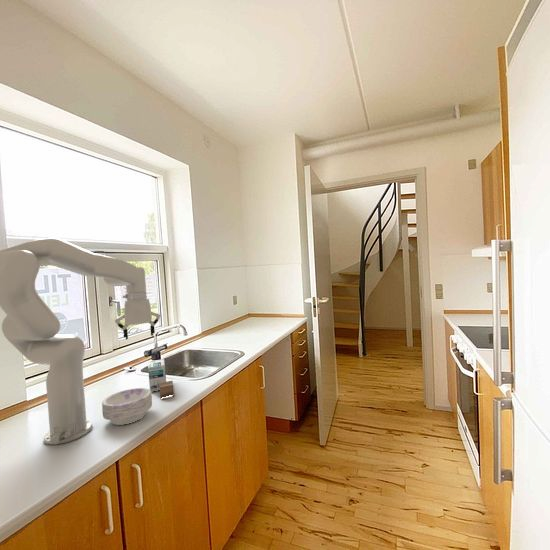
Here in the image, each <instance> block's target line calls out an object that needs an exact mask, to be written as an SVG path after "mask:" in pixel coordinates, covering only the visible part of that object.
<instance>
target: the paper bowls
mask: <svg viewBox="0 0 550 550" xmlns="http://www.w3.org/2000/svg"><path fill="white" fill-rule="evenodd" d="M152 398H153V397H152V393H151V391H150V388H145V387H138V388H129V389H124V390H121V391H119V392H115V393H112V394H110V395H107V396H106V397H105V398H104V399H103V400H102V403H101V409H102V410H101V412H102V417H103V419H104V420H108V421H110V422H111V423H112V424H113V425H115V426H125V425H124V424H127V425H129V423H131V424H133V423H132V422H134V423H135V421H136V422H138V421H140V420H141V419H142V418H144V417H145V415H146V413H147V412H148V411H149V410H151V408H152V407H153V399H152ZM139 419H140V420H139ZM137 420H138V421H137Z"/></svg>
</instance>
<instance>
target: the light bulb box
mask: <svg viewBox="0 0 550 550" xmlns="http://www.w3.org/2000/svg"><path fill="white" fill-rule="evenodd" d="M165 362H166V361H165V358H162V359H157V360H149V362H148V366H147V369H148V370H147V371H148V372H147V373H148V383H149V385H148V386H149V390H150V391H151V392H152V393H154V392H153V391H157V392H159V391H158V390H160V384H159V383H162V382H167V375H166V374H167V373H166V363H165Z"/></svg>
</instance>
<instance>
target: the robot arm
mask: <svg viewBox="0 0 550 550" xmlns="http://www.w3.org/2000/svg"><path fill="white" fill-rule="evenodd" d="M43 266H44V267H45V266H54V267H57V268H61V269H62V270H66V271H69V272H72V273H75V274H78V275H79V276H80V275H81V276H85V277H93V278H103V280H104V283H106V285H108V286H112V287H124V286H125V291H126V294H123V295H122V299H126V300H125V301H124V309H123V310H124V313H123V314H122V315H121V316H119V317H117V318H116V319H115V320H114V322H115V324H116V325H117V326H118V327H119V328H120V329H121V330H123V338H125V340H128V339H129V335H128V334H129V333H128V332H129V331H128V327H129V326H132V325H141V324H150V326H149V328H150V335H151V337H153V336H154V334H156V333H155V331H156V330H155V325H157V323H158V322H159V320H160V318H161V314H159V313H156V312H155V311H152V308H151V302H150V299H149V298H147V284H146V272H145V268H144V267H142V266H138V267H137V266H136V265H134V264H132V263H129V262H127V261H125V260H122V259H119V258H115V257H112V256H107V255H103V254H98V253H94V252H92V251H89V250H87V249H85V248H82V247H80V246H77V245H75V244H73V243H70V242H68V241H66V240H64V239H61V238H57V237H48V238H47V237H45V238H40V239H34V240H30V241H26V242H23V243H20V244H17V245H15V246H11V247H8V248H4V249H1V250H0V309H1V310H2V311H3V312H4V313H5V315H6V316H5V317H4V319H3V320H2V323H1V331H2V334H3V335H4V336H3V337H5V339H6V340H7V341H8V342H9V343H10V344H11V345H12V346H13V347H15V349H16V350H17V351H18V352H19V353H20V354H22V356H24V357H25V358H26V359H27V360H29V362H31V363H34V364H37V365H38V364H39V365H46V366H47V365H48V366H49V370H48V372H47V375H46V379H45V387H46V397H47V398H46V400H47V412H48V424H49V431H47V433H45V435H44V436H43V443H44V444H45V445H52V446H53V445H61V444H65V443H69V442H71V441H72V442H73V441H74V440H77V439H79V438H81V437H83V436H85V435H86V434H87V433H89V432H90V431H91V430H92V429H93V422H92V421H91V420H89V419H87V411H86V398H85V397H86V396H85V383H84V369H83V368H84V358H85V350H86V349H85V348H86V347H85V344H84V341H83V340H82V339H81V338H80V337H79V336H78V335H74V334H69V333H66V334H65V333H64V334H63V333H62V334H61V333H59V332H60V331H61V330H60V329H61V322H60V319H59V318H58V316H57V315H56V314H55V313H54V312H53V311H52V310H51V308H50V307H49V306H48V305H47V304H46V303H45V301H44V300H43V299H42V298H41V296H40V295H39V293H38V291H37V290H36V280H37V276H38V274H39V272H40V268H41V267H43ZM152 316H154V317H155V319H154V320H153V319H152ZM122 320H124V325H123V324H122V323H121V321H122Z"/></svg>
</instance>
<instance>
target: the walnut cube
mask: <svg viewBox="0 0 550 550" xmlns="http://www.w3.org/2000/svg"><path fill="white" fill-rule="evenodd" d="M159 384H160V391H159V394H160V399H161V398H162V397H166V396H169V395H173V394H174V395H175V393H174V390H175V389H174V382H173V380H169V381H167V380H166V382H162V383H159Z"/></svg>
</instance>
